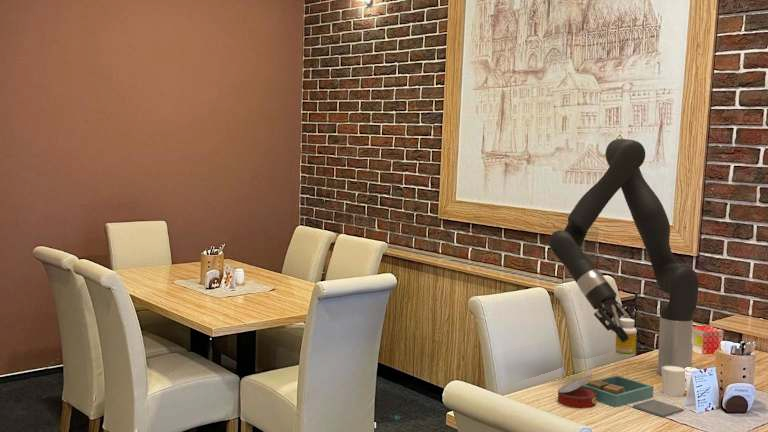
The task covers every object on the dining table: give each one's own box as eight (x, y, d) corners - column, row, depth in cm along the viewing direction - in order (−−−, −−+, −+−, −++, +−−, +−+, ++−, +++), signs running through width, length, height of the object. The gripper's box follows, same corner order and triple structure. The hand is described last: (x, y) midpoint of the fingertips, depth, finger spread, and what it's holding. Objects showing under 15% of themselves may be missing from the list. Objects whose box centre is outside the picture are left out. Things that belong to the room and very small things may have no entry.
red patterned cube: (687, 348, 259) (688, 326, 259) (706, 347, 261) (707, 325, 261) (702, 354, 252) (703, 331, 251) (722, 353, 254) (723, 330, 253)
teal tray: (616, 385, 214) (616, 375, 214) (652, 396, 204) (653, 386, 204) (579, 394, 205) (579, 384, 205) (615, 407, 195) (616, 396, 195)
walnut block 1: (596, 394, 206) (596, 379, 206) (608, 397, 203) (608, 383, 203) (586, 396, 204) (587, 382, 204) (598, 400, 201) (599, 385, 200)
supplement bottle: (636, 357, 202) (638, 322, 202) (616, 356, 203) (617, 321, 203) (634, 352, 208) (636, 318, 207) (614, 351, 209) (615, 316, 208)
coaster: (653, 401, 200) (653, 399, 200) (683, 411, 193) (683, 408, 193) (632, 407, 195) (632, 405, 195) (662, 417, 188) (663, 415, 188)
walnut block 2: (609, 398, 203) (610, 383, 202) (623, 401, 200) (624, 387, 200) (602, 401, 200) (603, 387, 200) (616, 405, 197) (617, 390, 197)
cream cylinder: (687, 391, 210) (688, 367, 209) (685, 398, 204) (687, 373, 203) (661, 388, 213) (662, 363, 212) (659, 394, 207) (660, 369, 206)
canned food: (579, 426, 194) (569, 396, 190) (554, 410, 203) (544, 381, 199) (610, 402, 198) (601, 372, 194) (584, 387, 206) (575, 359, 203)
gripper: (589, 283, 205) (627, 335, 197) (618, 278, 214) (655, 327, 206) (572, 299, 209) (608, 350, 201) (602, 294, 219) (637, 342, 211)
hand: (632, 338), depth 204 cm, fingers closed on supplement bottle, 5 cm apart
